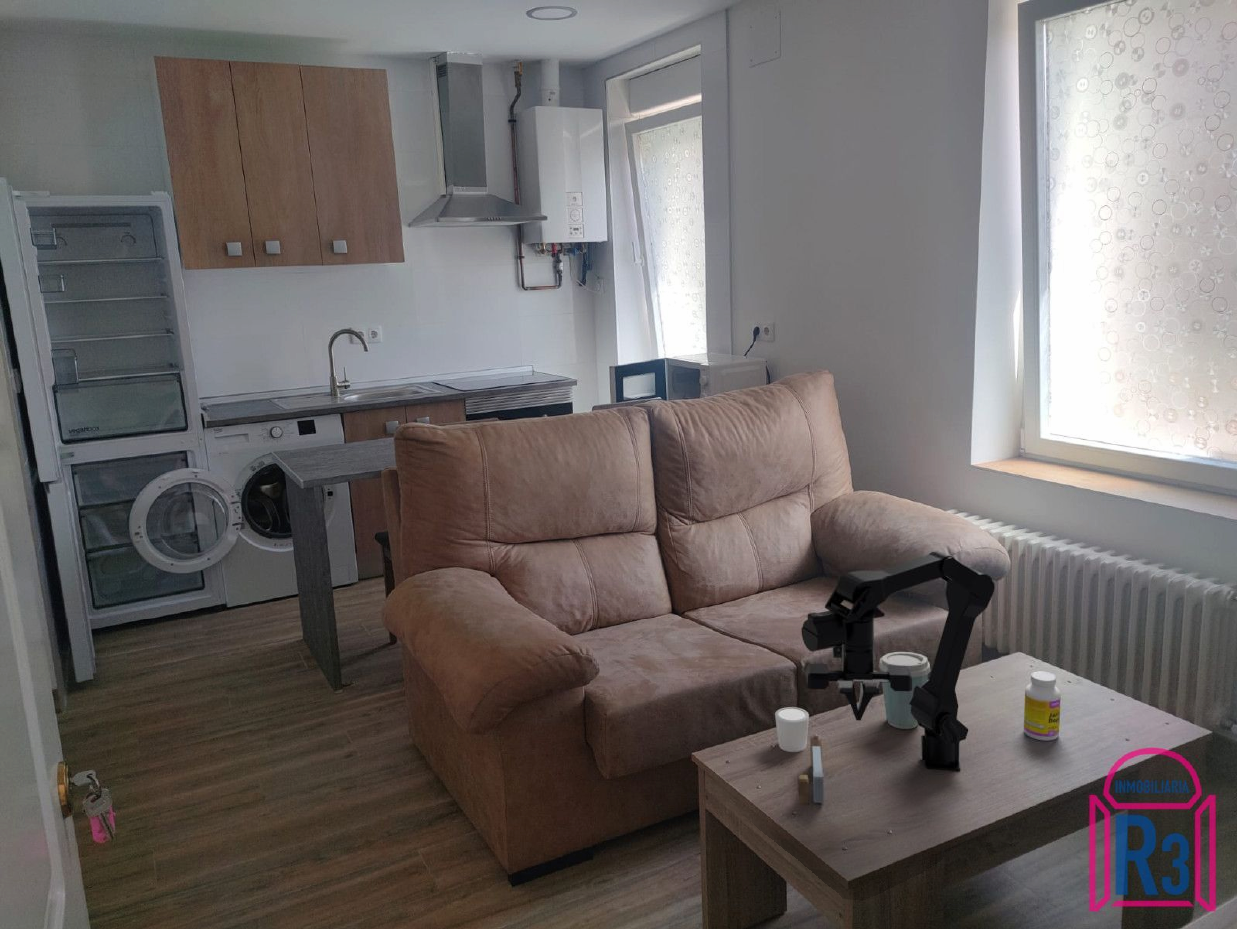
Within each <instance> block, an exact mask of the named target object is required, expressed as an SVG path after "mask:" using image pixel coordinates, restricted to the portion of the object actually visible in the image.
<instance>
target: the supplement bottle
mask: <svg viewBox="0 0 1237 929" xmlns="http://www.w3.org/2000/svg"><path fill="white" fill-rule="evenodd" d="M1030 682H1031V683H1029V684H1027V686H1026V687H1025V689H1024V710H1023V711H1024V712H1023V731H1024V733H1025V735H1027V736H1028V737H1029V738H1032V739H1034V740H1038V741H1045V742H1046V741H1048V742H1049V741H1054V740H1055V739H1057V738H1058V737H1059V736H1060V721H1061V720H1060V719H1061V718H1060V716H1061V698H1062V697H1061V695H1062V694H1061V691H1060V689H1058V687H1057V686H1056V684H1057V677H1056V675H1054V674H1053V673H1052V672H1048V671H1041V670H1039V671H1034V672H1032V673H1031V674H1030Z"/></svg>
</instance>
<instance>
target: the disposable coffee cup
mask: <svg viewBox="0 0 1237 929" xmlns="http://www.w3.org/2000/svg"><path fill="white" fill-rule="evenodd" d="M887 665H902V666H907V668H908V669H909V671H910V674H911V677H912V690H911V691H894V690H893V689H892V688H891V687H890V683H887V682H881V684H882V694H883V702H884V709H885V717H886V720H887V722H888V724H889V725H890V726H891V727H894V728H896V729H903V730H910V729H914V728H916V727H918V726H919V725H918V722H917V720H916V719H915V718H914V717H913V715H912V714H911V705H910V704H909V703H910V701H911V700H912V697H913V693H914V688H915V686H920V687H922V686H923V685H924V684H925V683H926V682H927V681H928V680H929V673H931V671H932V670H931V666H930V661H928V657H927V656H925V655H923V654H921V653H916V652H911V651H910V652H909V651H908V652H907V651H895V652H889V653H886V654H885V655H883V656H882V657H881V658H879V662H878V668H879V670H880V671H879V672H887Z"/></svg>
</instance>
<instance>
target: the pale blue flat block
mask: <svg viewBox="0 0 1237 929" xmlns="http://www.w3.org/2000/svg"><path fill="white" fill-rule="evenodd" d="M822 740H823V739H822V736H820V735H819V734H817V733H814V734H813V735H811V736H810V738H809V742H810V745H809V746H810V749H809V750H810V752H809V753H810V766H811V767H812V775H813V776H812V777H813V778H812V780H813V782H812V783H813V784H812V786H813V803H819V804H820V803H821V804H824V802H825V788H824V786H825V781H824V780H825V778H824V772H823V747H822V746H823V743H822V742H823V741H822Z"/></svg>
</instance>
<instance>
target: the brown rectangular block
mask: <svg viewBox="0 0 1237 929" xmlns="http://www.w3.org/2000/svg"><path fill="white" fill-rule="evenodd" d="M809 781H810V780H809V777H808V774H799V777H798V784H797V785H798V805H810V789H809V788H810V784H809V783H810V782H809Z"/></svg>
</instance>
